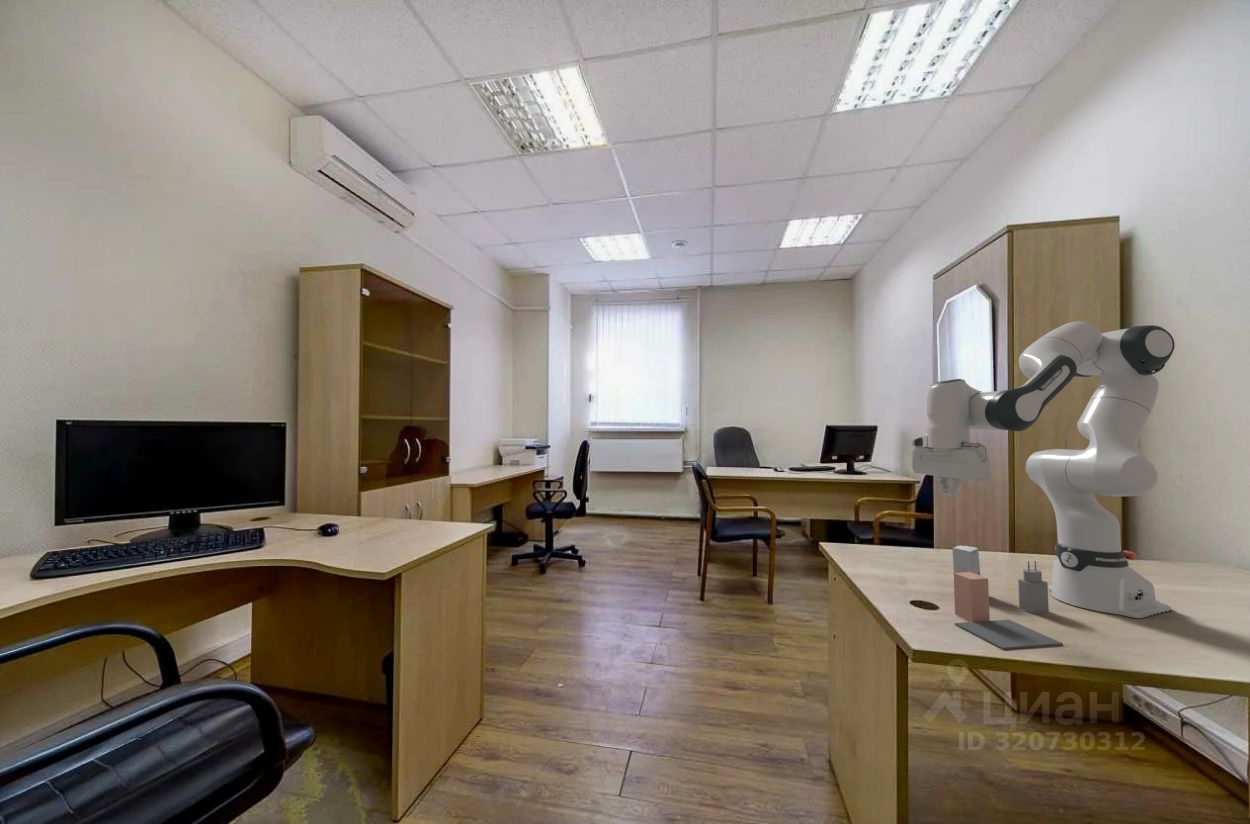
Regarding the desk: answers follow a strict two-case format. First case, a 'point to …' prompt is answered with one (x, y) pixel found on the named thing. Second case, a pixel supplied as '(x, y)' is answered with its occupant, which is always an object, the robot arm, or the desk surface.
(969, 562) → the skincare box
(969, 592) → the block
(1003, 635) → the mat
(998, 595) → the desk surface
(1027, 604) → the power adapter
